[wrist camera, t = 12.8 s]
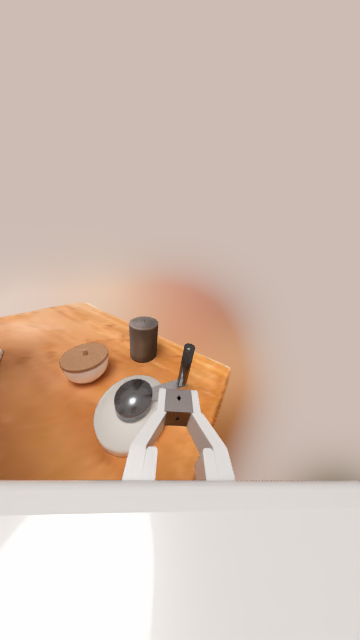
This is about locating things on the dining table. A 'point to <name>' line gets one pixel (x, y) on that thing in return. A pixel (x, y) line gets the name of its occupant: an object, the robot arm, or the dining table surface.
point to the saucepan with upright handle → (148, 391)
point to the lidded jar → (85, 362)
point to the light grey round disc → (119, 421)
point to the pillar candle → (143, 338)
